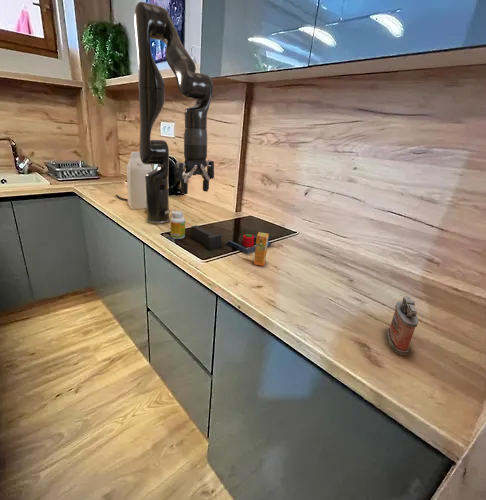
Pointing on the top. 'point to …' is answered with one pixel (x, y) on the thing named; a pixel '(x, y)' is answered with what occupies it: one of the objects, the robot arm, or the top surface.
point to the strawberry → (248, 240)
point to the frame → (243, 249)
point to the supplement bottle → (177, 225)
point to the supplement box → (261, 248)
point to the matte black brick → (206, 237)
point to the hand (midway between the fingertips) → (195, 192)
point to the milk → (137, 181)
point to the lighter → (402, 326)
